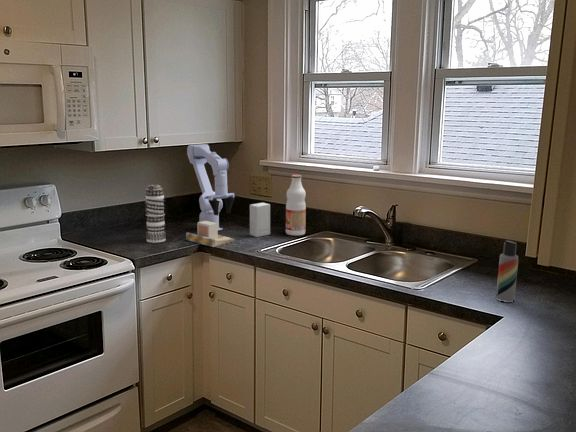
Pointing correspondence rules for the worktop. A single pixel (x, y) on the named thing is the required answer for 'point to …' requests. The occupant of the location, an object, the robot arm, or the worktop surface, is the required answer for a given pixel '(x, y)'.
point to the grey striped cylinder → (155, 213)
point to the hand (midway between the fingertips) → (222, 214)
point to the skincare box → (259, 219)
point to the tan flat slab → (208, 240)
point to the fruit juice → (296, 207)
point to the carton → (207, 229)
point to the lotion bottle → (507, 272)
